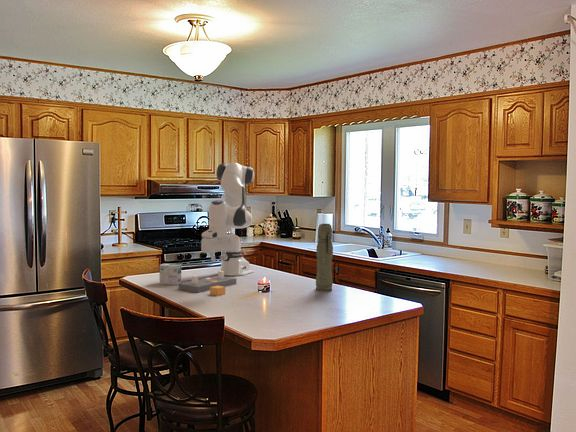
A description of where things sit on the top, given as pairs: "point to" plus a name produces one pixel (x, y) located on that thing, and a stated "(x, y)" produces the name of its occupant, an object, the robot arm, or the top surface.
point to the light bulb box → (170, 274)
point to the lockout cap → (217, 290)
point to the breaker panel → (206, 284)
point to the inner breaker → (220, 274)
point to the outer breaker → (194, 279)
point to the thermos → (324, 258)
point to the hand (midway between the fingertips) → (217, 260)
